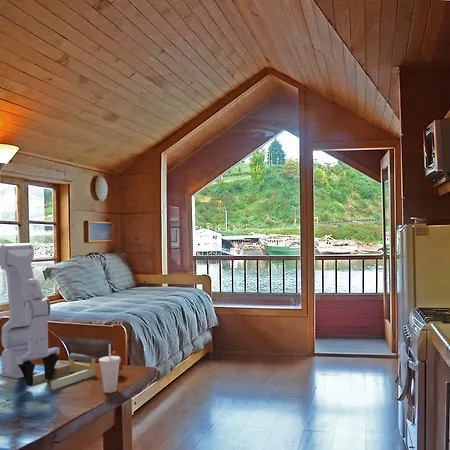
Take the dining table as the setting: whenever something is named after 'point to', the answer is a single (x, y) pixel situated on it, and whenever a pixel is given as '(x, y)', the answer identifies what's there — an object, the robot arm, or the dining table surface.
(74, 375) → the cream u-shaped frame
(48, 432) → the dining table surface
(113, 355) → the onion
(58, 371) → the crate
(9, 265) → the robot arm
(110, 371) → the smoothie
